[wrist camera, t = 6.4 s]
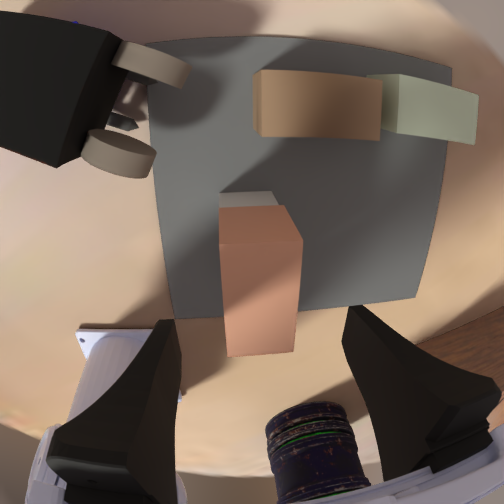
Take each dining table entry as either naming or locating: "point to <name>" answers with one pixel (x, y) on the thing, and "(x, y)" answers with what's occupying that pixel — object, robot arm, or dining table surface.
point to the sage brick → (427, 109)
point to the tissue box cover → (476, 353)
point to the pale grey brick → (247, 199)
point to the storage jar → (313, 453)
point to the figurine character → (74, 92)
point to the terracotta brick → (259, 279)
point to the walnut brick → (316, 105)
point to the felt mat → (290, 175)
